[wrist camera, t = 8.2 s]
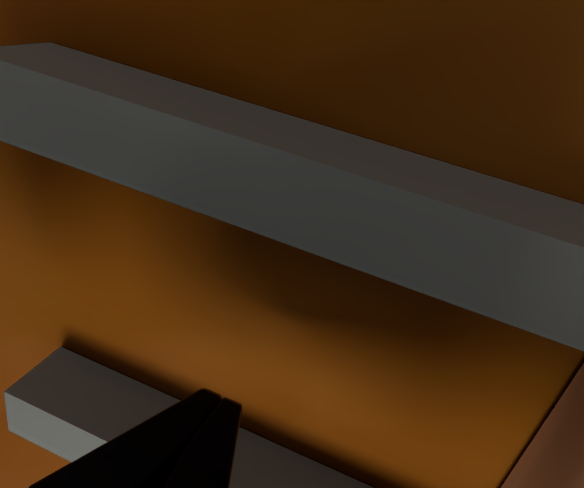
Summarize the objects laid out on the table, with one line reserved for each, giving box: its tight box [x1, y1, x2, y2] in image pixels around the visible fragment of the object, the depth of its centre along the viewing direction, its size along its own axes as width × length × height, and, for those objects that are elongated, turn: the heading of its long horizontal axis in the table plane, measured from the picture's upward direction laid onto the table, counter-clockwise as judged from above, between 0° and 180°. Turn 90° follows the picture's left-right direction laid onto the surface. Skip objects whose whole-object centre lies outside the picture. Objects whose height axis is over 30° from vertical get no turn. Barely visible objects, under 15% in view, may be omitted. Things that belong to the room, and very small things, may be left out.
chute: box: [0, 42, 584, 488], centre depth 9 cm, size 21×10×4 cm, turn 78°
